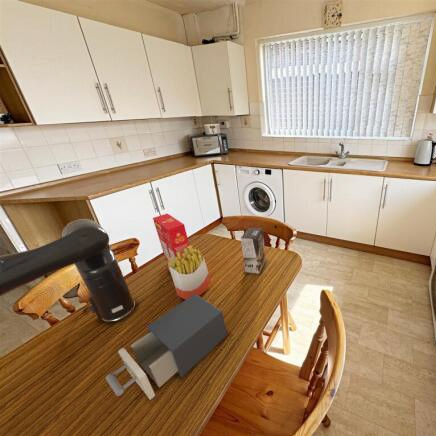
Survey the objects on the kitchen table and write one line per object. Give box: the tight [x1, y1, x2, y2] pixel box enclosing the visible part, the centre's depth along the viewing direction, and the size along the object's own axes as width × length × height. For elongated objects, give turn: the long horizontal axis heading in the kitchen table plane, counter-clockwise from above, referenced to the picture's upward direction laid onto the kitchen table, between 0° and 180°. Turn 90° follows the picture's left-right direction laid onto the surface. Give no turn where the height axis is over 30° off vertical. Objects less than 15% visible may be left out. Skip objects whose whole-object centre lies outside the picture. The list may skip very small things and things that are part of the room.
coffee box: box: [240, 227, 267, 275], centre depth 97 cm, size 9×6×16 cm
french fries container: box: [168, 244, 211, 301], centre depth 83 cm, size 5×11×18 cm, turn 148°
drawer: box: [105, 332, 178, 401], centre depth 59 cm, size 18×11×8 cm, turn 144°
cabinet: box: [146, 294, 228, 378], centre depth 66 cm, size 15×13×10 cm
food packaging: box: [152, 213, 190, 274], centre depth 90 cm, size 15×5×25 cm, turn 47°
